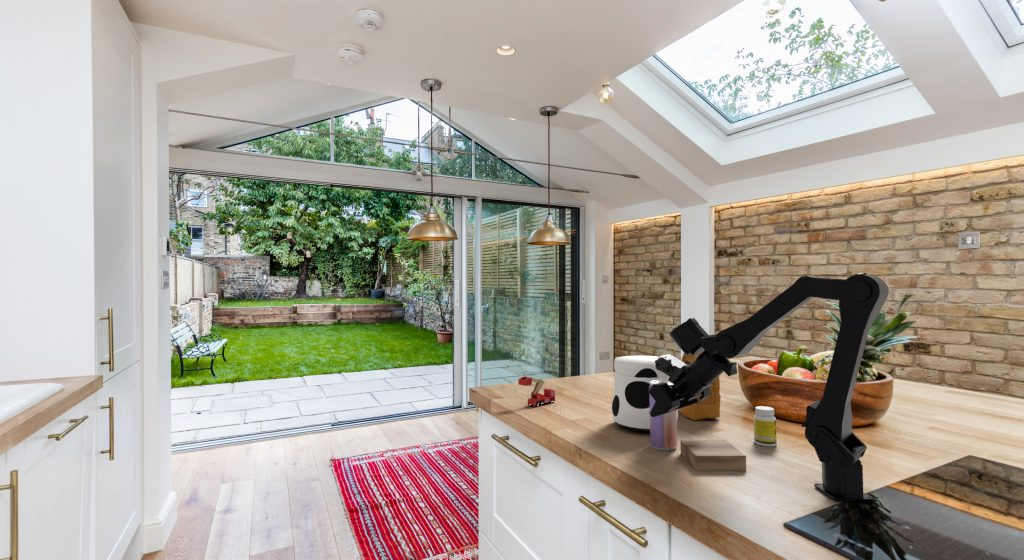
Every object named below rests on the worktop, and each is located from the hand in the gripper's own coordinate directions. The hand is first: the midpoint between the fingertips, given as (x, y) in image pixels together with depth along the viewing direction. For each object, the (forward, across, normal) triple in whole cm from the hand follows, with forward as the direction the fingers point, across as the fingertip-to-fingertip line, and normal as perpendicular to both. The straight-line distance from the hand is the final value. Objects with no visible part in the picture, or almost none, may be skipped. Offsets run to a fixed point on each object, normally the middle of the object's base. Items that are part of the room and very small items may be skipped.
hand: (657, 413), depth 113 cm
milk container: (+13, -11, -2) cm, 17 cm away
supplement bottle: (-6, -19, +17) cm, 27 cm away
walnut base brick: (-4, +1, +15) cm, 16 cm away
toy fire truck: (+39, -8, -28) cm, 49 cm away
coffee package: (+10, -32, +1) cm, 33 cm away
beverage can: (+4, 0, +6) cm, 8 cm away
